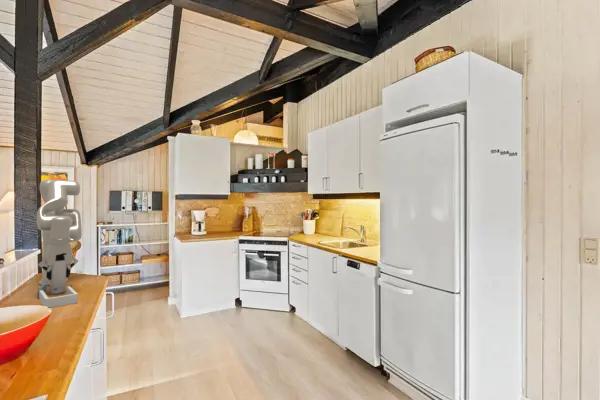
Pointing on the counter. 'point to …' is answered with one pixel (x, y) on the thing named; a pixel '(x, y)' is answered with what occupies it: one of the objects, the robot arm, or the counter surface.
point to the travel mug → (58, 276)
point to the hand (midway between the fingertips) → (58, 277)
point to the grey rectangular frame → (59, 298)
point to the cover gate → (43, 287)
